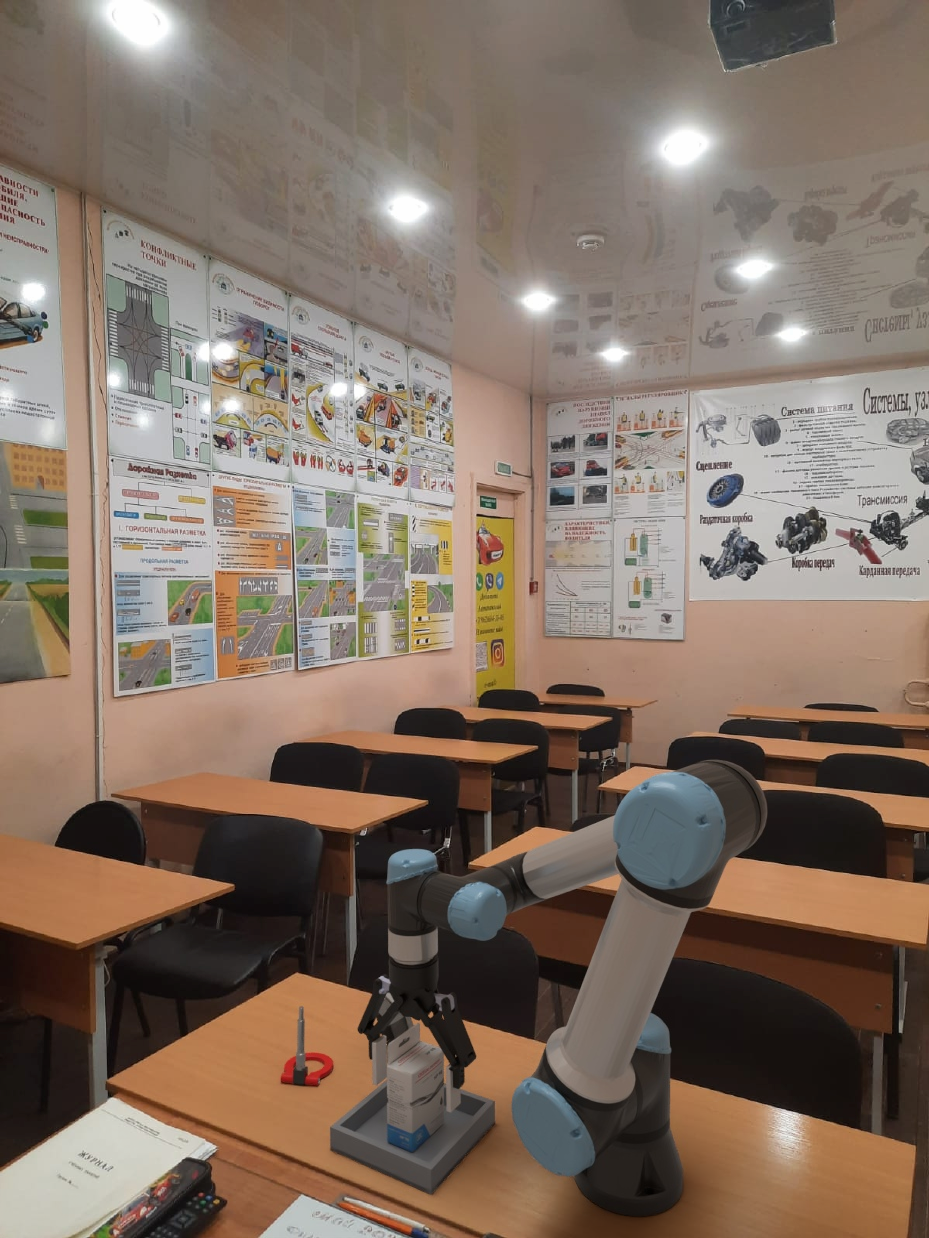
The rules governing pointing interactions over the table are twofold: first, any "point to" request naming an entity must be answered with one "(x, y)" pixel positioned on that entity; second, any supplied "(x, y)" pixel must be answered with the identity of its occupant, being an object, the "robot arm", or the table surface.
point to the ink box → (414, 1090)
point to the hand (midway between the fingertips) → (415, 1093)
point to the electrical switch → (394, 1022)
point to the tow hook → (301, 1071)
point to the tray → (433, 1159)
